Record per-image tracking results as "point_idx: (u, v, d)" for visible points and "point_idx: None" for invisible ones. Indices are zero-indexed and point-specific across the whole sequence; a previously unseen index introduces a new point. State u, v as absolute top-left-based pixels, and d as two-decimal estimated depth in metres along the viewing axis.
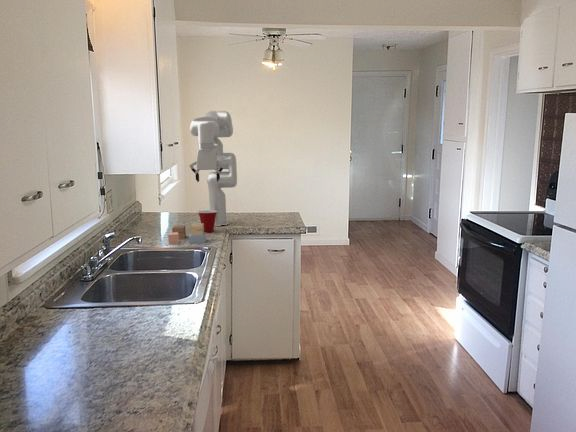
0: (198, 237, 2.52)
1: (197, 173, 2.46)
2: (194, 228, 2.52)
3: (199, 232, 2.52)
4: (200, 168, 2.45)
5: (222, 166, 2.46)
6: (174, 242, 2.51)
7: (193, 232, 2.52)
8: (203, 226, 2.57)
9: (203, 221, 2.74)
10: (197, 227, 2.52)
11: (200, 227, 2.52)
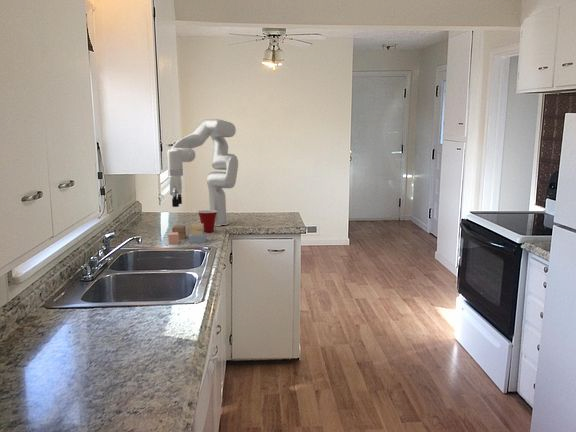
0: (198, 237, 2.52)
1: None
2: (194, 228, 2.52)
3: (199, 232, 2.52)
4: (179, 193, 2.58)
5: None
6: (174, 242, 2.51)
7: (193, 232, 2.52)
8: (203, 226, 2.57)
9: (203, 221, 2.74)
10: (197, 227, 2.52)
11: (200, 227, 2.52)
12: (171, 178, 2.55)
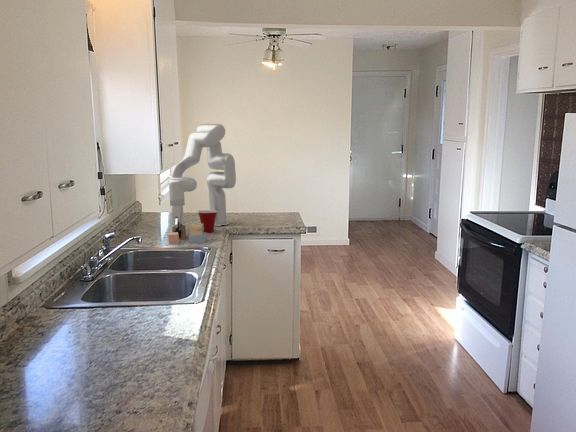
0: (198, 237, 2.52)
1: None
2: (194, 228, 2.52)
3: (199, 232, 2.52)
4: (181, 223, 2.61)
5: None
6: (174, 242, 2.51)
7: (193, 232, 2.52)
8: (203, 226, 2.57)
9: (203, 221, 2.74)
10: (197, 227, 2.52)
11: (200, 227, 2.52)
12: (173, 208, 2.58)
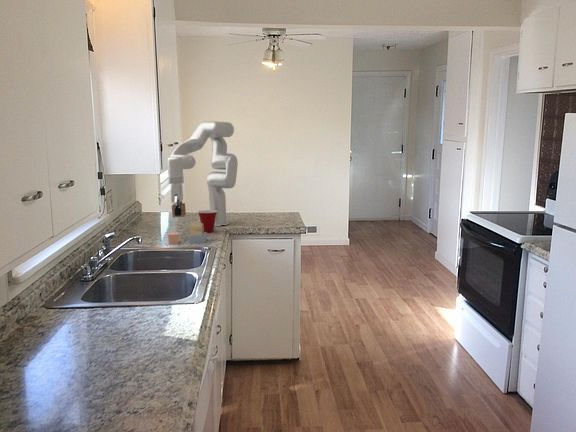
0: (198, 237, 2.52)
1: None
2: (193, 228, 2.52)
3: (199, 232, 2.52)
4: (180, 200, 2.59)
5: None
6: (174, 242, 2.51)
7: (192, 232, 2.52)
8: (202, 226, 2.57)
9: (203, 221, 2.74)
10: (196, 227, 2.52)
11: (199, 227, 2.52)
12: (172, 186, 2.56)
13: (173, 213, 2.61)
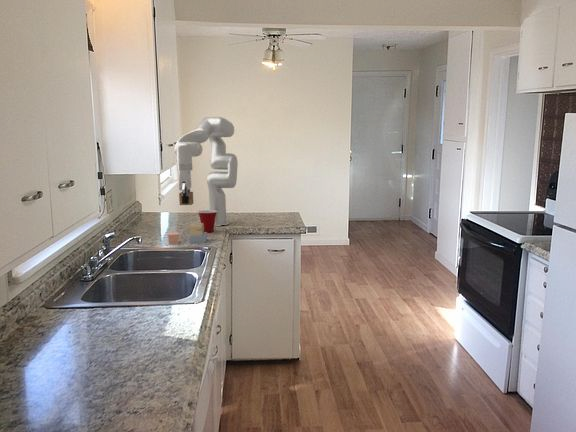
0: (199, 237, 2.52)
1: None
2: (193, 228, 2.52)
3: (199, 232, 2.53)
4: (188, 188, 2.52)
5: None
6: (174, 242, 2.51)
7: (192, 232, 2.53)
8: (203, 226, 2.57)
9: (203, 221, 2.74)
10: (196, 227, 2.52)
11: (199, 227, 2.52)
12: (180, 173, 2.50)
13: (180, 201, 2.54)
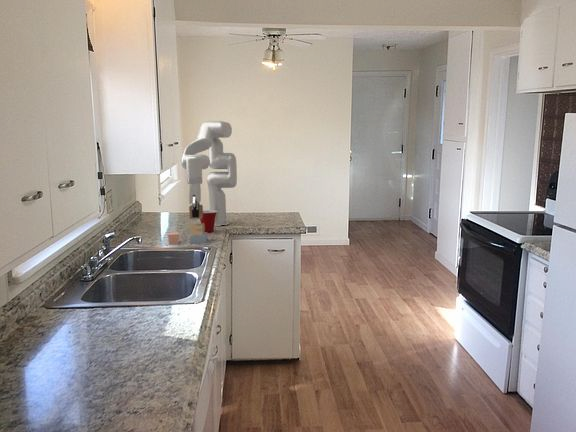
0: (199, 237, 2.52)
1: None
2: (194, 228, 2.52)
3: (199, 232, 2.53)
4: (199, 202, 2.49)
5: None
6: (174, 242, 2.51)
7: (193, 232, 2.53)
8: (203, 226, 2.57)
9: (203, 221, 2.74)
10: (197, 227, 2.52)
11: (200, 227, 2.52)
12: (190, 186, 2.46)
13: (190, 215, 2.51)
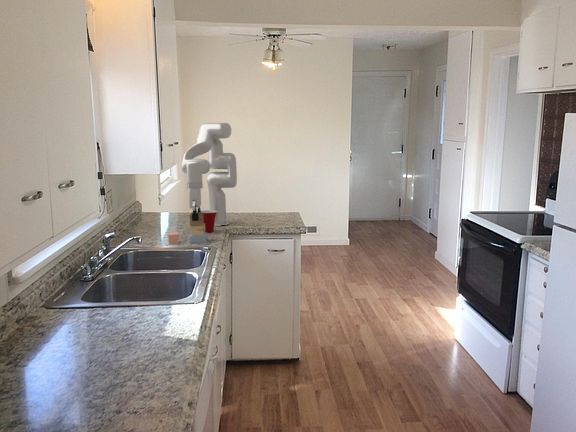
0: (199, 237, 2.52)
1: None
2: (195, 228, 2.53)
3: (200, 232, 2.53)
4: (199, 206, 2.50)
5: None
6: (174, 242, 2.51)
7: (194, 232, 2.53)
8: (204, 226, 2.57)
9: None
10: (198, 227, 2.53)
11: (201, 227, 2.53)
12: (191, 191, 2.47)
13: (191, 222, 2.51)
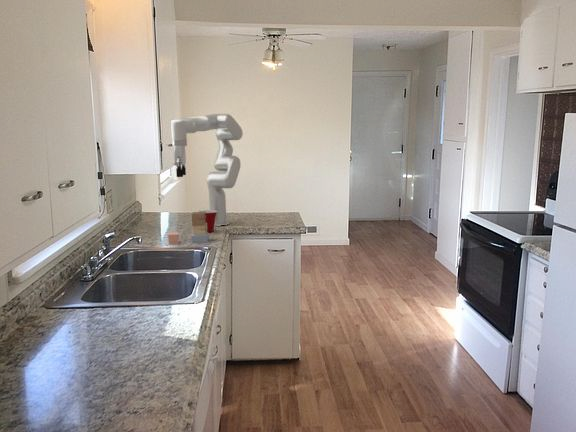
0: (200, 236, 2.53)
1: None
2: (196, 227, 2.54)
3: (202, 231, 2.54)
4: (183, 163, 2.60)
5: None
6: (174, 242, 2.51)
7: (195, 231, 2.54)
8: (206, 225, 2.58)
9: None
10: (199, 226, 2.54)
11: (202, 226, 2.54)
12: (175, 148, 2.57)
13: (193, 221, 2.52)
